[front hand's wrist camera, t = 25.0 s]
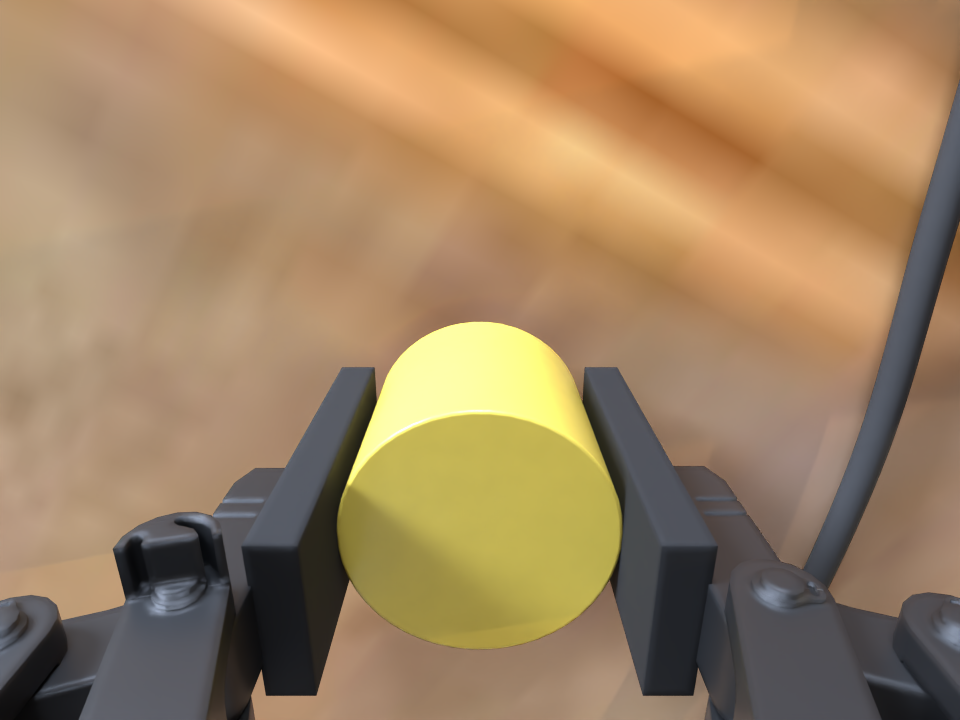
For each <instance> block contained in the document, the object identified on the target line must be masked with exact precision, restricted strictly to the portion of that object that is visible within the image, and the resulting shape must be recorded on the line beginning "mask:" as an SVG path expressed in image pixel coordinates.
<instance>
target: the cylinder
mask: <svg viewBox="0 0 960 720" xmlns="http://www.w3.org/2000/svg"><path fill="white" fill-rule="evenodd" d="M622 533H623V522H622V512H621V508H620V503H619V499H618V496H617V494H616V491H615V488H614V485H613V483H612V480H611V477H610V475H609V472H608V469H607V467H606V464H605V461H604V459H603V456H602V453H601V451H600V448H599V445H598V443H597V440H596V437H595V435H594V432H593V429H592V427H591V424H590V421H589V419H588V416H587V413H586V411H585V408H584V405H583V403H582V400H581V397H580V395H579V392H578V389H577V387H576V384H575V382H574V379H573V377H572V375H571V373H570V371H569V370H568V368H567V366H566V365H565V364H564V362H563V361H562V360H561V358H560V357H559V356H558V355H557V354H556V353H555V352H554V351H553V350H552V349H551V348H550V347H549V346H547V345H546V344H545V343H543V342H542V341H541V340H539V339H538V338H536V337H534V336H532V335H531V334H529V333H527V332H524V331H522V330H519V329H517V328H514V327H511V326H507V325H503V324H497V323H490V322H470V323H462V324H457V325H453V326H449V327H445V328H443V329H440V330H437V331H435V332H433V333H431V334H429V335H427V336H425V337H423V338H422V339H420V340H419V341H417V342H416V343H415V344H413V345H412V346H411V347H410V348H409V349H407V350H406V351H405V352H404V353H403V354H402V355H401V356H400V358H399V359H398V360H397V362H396V363H395V364H394V365H393V367H392V369H391V370H390V372H389V374H388V376H387V378H386V380H385V383H384V385H383V388H382V390H381V393H380V396H379V398H378V401H377V404H376V406H375V409H374V412H373V414H372V417H371V420H370V422H369V425H368V428H367V430H366V433H365V436H364V438H363V441H362V444H361V446H360V449H359V452H358V454H357V457H356V460H355V462H354V465H353V468H352V470H351V473H350V476H349V478H348V481H347V484H346V486H345V489H344V492H343V494H342V497H341V500H340V505H339V509H338V514H337V539H338V548H339V552H340V556H341V560H342V563H343V566H344V568H345V570H346V573H347V575H348V577H349V579H350V581H351V582H352V584H353V586H354V587H355V589H356V591H357V592H358V593H359V594H360V596H361V597H362V598H363V599H364V601H365V602H366V603H367V604H368V605H369V606H370V607H371V608H372V609H373V610H374V611H375V612H376V613H377V614H378V615H380V616H381V617H382V618H384V619H385V620H386V621H388V622H389V623H390V624H392V625H394V626H395V627H397V628H399V629H401V630H402V631H404V632H406V633H408V634H410V635H413V636H415V637H417V638H419V639H422V640H425V641H428V642H431V643H434V644H438V645H443V646H448V647H452V648H461V649H475V650H488V649H498V648H507V647H512V646H517V645H521V644H525V643H528V642H531V641H534V640H538V639H540V638H542V637H544V636H547V635H549V634H551V633H554V632H555V631H557V630H559V629H560V628H562V627H564V626H566V625H567V624H569V623H570V622H572V621H573V620H574V619H576V618H577V617H578V616H580V615H581V614H582V613H583V612H584V611H585V610H586V609H587V608H588V607H589V606H590V605H591V604H592V603H593V602H594V601H595V600H596V599H597V597H598V596H599V595H600V594H601V592H602V591H603V590H604V588H605V586H606V585H607V583H608V581H609V580H610V578H611V576H612V574H613V571H614V569H615V567H616V564H617V561H618V558H619V554H620V550H621V543H622Z"/></svg>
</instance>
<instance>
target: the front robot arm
mask: <svg viewBox="0 0 960 720" xmlns="http://www.w3.org/2000/svg"><path fill="white" fill-rule="evenodd" d="M959 221H960V81H959V84H958V88H957V91H956V95H955V98H954V102H953V105H952V109H951V112H950V116H949V119H948V123H947V126H946V130H945V133H944V137H943V140H942V144H941V147H940V150H939V154H938V157H937V161H936V164H935V168H934V171H933V175H932V178H931V182H930V185H929V188H928V192H927V195H926V199H925V202H924V206H923V209H922V213H921V216H920V220H919V223H918V227H917V230H916V234H915V237H914V241H913V245H912V248H911V252H910V256H909V259H908V263H907V267H906V270H905V274H904V278H903V282H902V285H901V289H900V293H899V297H898V301H897V304H896V308H895V312H894V316H893V320H892V323H891V327H890V331H889V335H888V339H887V342H886V346H885V350H884V354H883V357H882V361H881V364H880V368H879V372H878V375H877V379H876V382H875V386H874V389H873V392H872V396H871V399H870V402H869V405H868V409H867V412H866V415H865V418H864V421H863V424H862V427H861V430H860V433H859V436H858V439H857V442H856V444H855V447H854V450H853V453H852V455H851V458H850V461H849V464H848V466H847V469H846V471H845V474H844V476H843V479H842V481H841V484H840V486H839V489H838V491H837V494H836V496H835V499H834V501H833V503H832V506H831V508H830V511H829V513H828V515H827V518H826V520H825V522H824V525H823V527H822V529H821V532H820V534H819V536H818V538H817V541H816V543H815V545H814V547H813V550H812V552H811V554H810V556H809V558H808V560H807V563H806V565H805V567H804V569H803V570H802V569H800V568H797V567H795V566H793V565H791V564H787V563H783V562H781V561H780V560H779V558H778V557H777V556H776V554H775V553H774V551H773V550H772V548H771V547H770V545H769V544H768V542H767V541H766V540H765V538H764V537H763V535H762V534H761V532H760V531H759V529H758V528H757V527H756V525H755V524H754V522H753V521H752V519H751V518H750V516H747V514H746V511H745V509H744V508H743V506H742V505H741V503H740V502H739V501H737V497H736V496H735V495H734V493H733V492H732V490H731V489H730V487H729V486H728V484H727V483H726V482H725V480H723V479H722V478H720V477H719V476H717V475H716V474H715V473H713V472H712V471H710V470H709V469H707V468H706V467H705V466H673V465H672V464H671V462H670V460H669V458H668V456H667V455H666V453H665V451H664V449H663V448H662V446H661V444H660V442H659V441H658V439H657V437H656V435H655V434H654V432H653V430H652V428H651V426H650V425H649V423H648V421H647V419H646V418H645V416H644V414H643V412H642V411H641V409H640V407H639V405H638V403H637V402H636V400H635V398H634V396H633V395H632V393H631V391H630V389H629V388H628V386H627V384H626V382H625V381H624V379H623V377H622V375H621V373H620V372H619V370H618V368H617V367H585V373H584V388H583V405H584V408H585V411H586V413H587V416H588V419H589V421H590V424H591V427H592V429H593V432H594V435H595V437H596V440H597V443H598V445H599V448H600V451H601V453H602V456H603V459H604V461H605V464H606V467H607V469H608V472H609V475H610V477H611V480H612V483H613V485H614V488H615V491H616V494H617V496H618V499H619V503H620V508H621V512H622V522H623V533H622V543H621V550H620V554H619V558H618V561H617V564H616V567H615V569H614V571H613V574H612V576H611V578H610V582H611V585H612V589H613V592H614V596H615V599H616V603H617V606H618V610H619V613H620V617H621V620H622V624H623V627H624V631H625V634H626V638H627V641H628V645H629V648H630V652H631V655H632V659H633V662H634V666H635V669H636V673H637V676H638V680H639V683H640V687H641V690H642V694H643V696H693V694H694V688H695V682H696V676H697V670H698V668H699V670H700V673H701V675H702V678H703V680H704V683H705V685H706V688H707V690H708V693H709V698H708V704H707V710H706V715H705V720H960V598H957V597H954V596H951V595H945V594H937V593H929V592H928V593H922V594H915V595H912V596H911V597H909V598H908V599H907V600H906V601H904V602H903V605H902V608H901V611H900V614H899V618H897V617H892V616H887V615H883V614H878V613H874V612H869V611H865V610H860V609H856V608H852V607H848V606H845V605H841V604H838V603H836V602H835V600H834V598H833V596H832V595H831V593H830V592H829V590H828V587H829V586H830V584H831V582H832V580H833V578H834V576H835V574H836V572H837V570H838V567H839V565H840V563H841V561H842V559H843V557H844V555H845V553H846V551H847V549H848V546H849V544H850V542H851V540H852V538H853V536H854V533H855V531H856V529H857V527H858V524H859V522H860V520H861V518H862V515H863V513H864V511H865V509H866V506H867V504H868V502H869V499H870V497H871V495H872V492H873V490H874V487H875V485H876V483H877V480H878V478H879V475H880V473H881V470H882V468H883V465H884V463H885V460H886V458H887V455H888V452H889V450H890V447H891V444H892V442H893V439H894V436H895V433H896V431H897V428H898V425H899V422H900V419H901V416H902V413H903V410H904V407H905V404H906V401H907V398H908V395H909V391H910V388H911V385H912V382H913V378H914V375H915V372H916V369H917V365H918V362H919V358H920V355H921V352H922V348H923V345H924V341H925V338H926V334H927V331H928V327H929V324H930V320H931V317H932V313H933V310H934V306H935V303H936V299H937V296H938V292H939V289H940V285H941V282H942V278H943V275H944V271H945V268H946V265H947V261H948V258H949V254H950V251H951V248H952V244H953V241H954V238H955V234H956V231H957V228H958V225H959ZM376 404H377V398H376V383H375V368H374V367H342V369H341V370H340V372H339V374H338V376H337V378H336V379H335V381H334V383H333V385H332V386H331V388H330V390H329V392H328V393H327V395H326V397H325V399H324V400H323V402H322V404H321V406H320V408H319V409H318V411H317V413H316V415H315V416H314V418H313V420H312V422H311V423H310V425H309V427H308V429H307V431H306V432H305V434H304V436H303V438H302V439H301V441H300V443H299V445H298V446H297V448H296V450H295V452H294V453H293V455H292V457H291V459H290V461H289V462H288V464H287V466H286V468H255V469H254V470H252V471H251V472H249V473H248V474H246V475H245V476H244V477H242V478H241V479H239V480H238V481H236V482H235V483H234V484H233V486H232V487H231V489H230V490H229V492H228V493H227V495H226V496H225V498H224V499H223V503H220V505H219V506H218V508H217V509H216V511H215V512H214V514H213V517H212V516H211V515H207V514H203V513H199V512H179V513H174V514H170V515H165V516H161V517H157V518H155V519H152V520H150V521H148V522H145V523H143V524H141V525H138V526H137V527H136V528H134V529H133V530H131V531H130V532H128V533H127V534H126V535H124V536H123V537H122V538H121V539H120V540H119V542H118V543H117V544H116V546H115V547H114V548H113V552H114V555H115V559H116V563H117V567H118V571H119V575H120V579H121V583H122V586H123V590H124V594H125V598H126V601H125V603H124V606H120V607H117V608H113V609H110V610H106V611H102V612H97V613H93V614H88V615H84V616H79V617H75V618H70V619H66V620H61V617H60V614H59V611H58V608H57V605H56V604H55V603H53V602H52V601H51V600H50V599H49V598H46V597H40V596H33V595H29V596H21V597H13V598H8V599H5V600H2V601H0V720H255V717H254V710H253V704H252V698H251V694H252V692H253V689H254V687H255V684H256V682H257V679H258V677H259V674H260V672H261V669H262V674H263V680H264V686H265V692H266V696H316V695H317V691H318V688H319V684H320V681H321V677H322V674H323V670H324V667H325V663H326V660H327V656H328V653H329V649H330V646H331V642H332V639H333V635H334V632H335V628H336V625H337V621H338V618H339V614H340V611H341V607H342V604H343V600H344V597H345V593H346V590H347V586H348V583H349V577H348V575H347V573H346V570H345V568H344V566H343V563H342V560H341V556H340V552H339V548H338V539H337V514H338V509H339V505H340V500H341V497H342V494H343V492H344V489H345V486H346V484H347V481H348V478H349V476H350V473H351V470H352V468H353V465H354V462H355V460H356V457H357V454H358V452H359V449H360V446H361V444H362V441H363V438H364V436H365V433H366V430H367V428H368V425H369V422H370V420H371V417H372V414H373V412H374V409H375V406H376Z"/></svg>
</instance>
